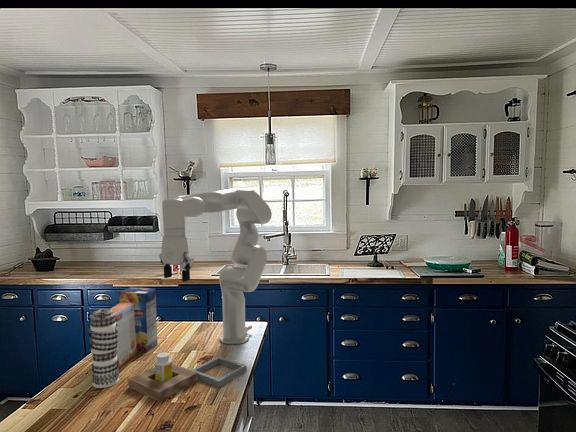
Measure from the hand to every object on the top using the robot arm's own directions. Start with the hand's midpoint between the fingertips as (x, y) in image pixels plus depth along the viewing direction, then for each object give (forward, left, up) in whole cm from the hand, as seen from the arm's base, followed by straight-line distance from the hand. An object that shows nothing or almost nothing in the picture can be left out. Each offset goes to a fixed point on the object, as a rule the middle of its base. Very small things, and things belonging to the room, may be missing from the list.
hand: (177, 279), depth 153 cm
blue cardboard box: (-2, -27, -33) cm, 43 cm away
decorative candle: (+23, -11, -33) cm, 42 cm away
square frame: (-3, +17, -33) cm, 37 cm away
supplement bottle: (+13, +7, -33) cm, 36 cm away
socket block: (+13, +7, -33) cm, 36 cm away
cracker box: (+10, -22, -33) cm, 41 cm away
